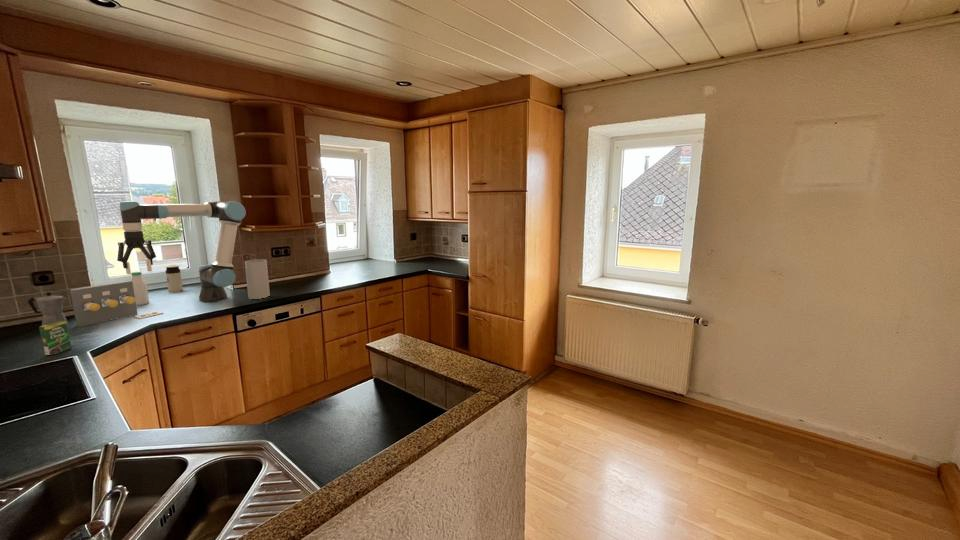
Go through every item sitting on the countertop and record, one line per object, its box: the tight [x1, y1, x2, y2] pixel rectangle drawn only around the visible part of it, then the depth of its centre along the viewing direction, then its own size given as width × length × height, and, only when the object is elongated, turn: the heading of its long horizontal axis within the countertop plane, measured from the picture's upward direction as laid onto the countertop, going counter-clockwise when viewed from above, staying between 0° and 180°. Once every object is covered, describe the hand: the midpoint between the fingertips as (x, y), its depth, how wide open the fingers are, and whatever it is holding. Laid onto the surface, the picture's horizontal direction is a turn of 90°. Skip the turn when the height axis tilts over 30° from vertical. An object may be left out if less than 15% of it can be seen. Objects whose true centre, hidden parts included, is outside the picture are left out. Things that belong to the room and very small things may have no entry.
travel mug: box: [165, 264, 184, 293], centre depth 268 cm, size 8×8×18 cm
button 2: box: [119, 295, 136, 304], centre depth 210 cm, size 7×4×4 cm, turn 65°
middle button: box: [102, 298, 118, 308], centre depth 203 cm, size 7×4×4 cm, turn 65°
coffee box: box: [38, 321, 73, 356], centre depth 163 cm, size 8×3×13 cm, turn 171°
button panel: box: [69, 280, 138, 328], centre depth 205 cm, size 4×24×19 cm, turn 155°
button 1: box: [82, 301, 100, 311], centre depth 197 cm, size 7×4×4 cm, turn 65°
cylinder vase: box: [244, 258, 271, 300], centre depth 254 cm, size 12×12×25 cm
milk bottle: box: [130, 271, 150, 306], centre depth 236 cm, size 8×8×20 cm
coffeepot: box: [27, 291, 69, 326], centre depth 194 cm, size 15×9×18 cm, turn 104°
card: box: [133, 311, 164, 320], centre depth 215 cm, size 6×11×1 cm, turn 155°
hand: (139, 272), depth 207 cm, fingers open, 9 cm apart
